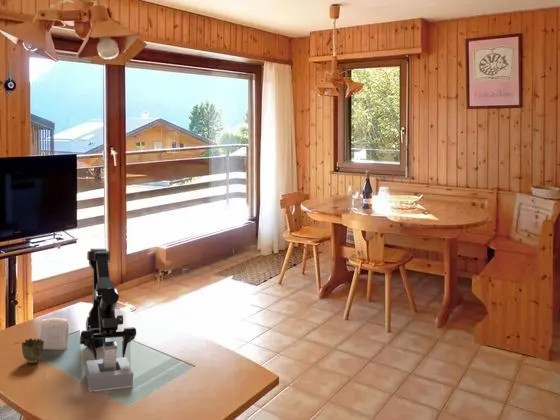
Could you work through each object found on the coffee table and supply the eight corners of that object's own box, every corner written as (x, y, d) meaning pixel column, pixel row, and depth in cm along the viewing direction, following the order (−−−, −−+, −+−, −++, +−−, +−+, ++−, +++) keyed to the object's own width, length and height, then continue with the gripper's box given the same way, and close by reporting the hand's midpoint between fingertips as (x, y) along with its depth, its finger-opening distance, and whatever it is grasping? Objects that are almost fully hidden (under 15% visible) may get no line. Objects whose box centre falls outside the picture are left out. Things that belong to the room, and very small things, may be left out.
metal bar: (101, 377, 186) (103, 342, 185) (113, 376, 188) (115, 341, 186) (103, 382, 183) (104, 346, 181) (115, 381, 184) (117, 345, 183)
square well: (85, 374, 189) (85, 360, 188) (125, 369, 195) (126, 356, 194) (89, 391, 176) (90, 377, 176) (132, 386, 182) (133, 373, 182)
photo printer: (68, 346, 211) (69, 316, 210) (66, 350, 207) (67, 320, 206) (40, 346, 209) (41, 316, 207) (38, 350, 205) (39, 319, 203)
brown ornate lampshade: (34, 368, 190) (35, 347, 189) (16, 365, 191) (17, 343, 190) (47, 360, 197) (48, 339, 196) (30, 357, 198) (30, 336, 197)
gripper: (82, 308, 182) (84, 351, 174) (136, 305, 191) (141, 346, 182) (78, 322, 190) (80, 364, 182) (131, 319, 199) (135, 359, 190)
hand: (110, 358), depth 184 cm, fingers open, 9 cm apart
